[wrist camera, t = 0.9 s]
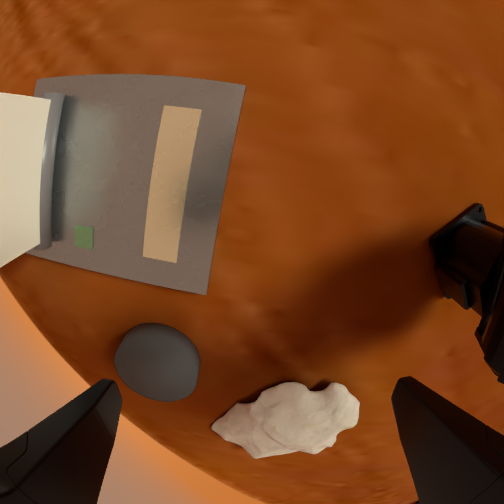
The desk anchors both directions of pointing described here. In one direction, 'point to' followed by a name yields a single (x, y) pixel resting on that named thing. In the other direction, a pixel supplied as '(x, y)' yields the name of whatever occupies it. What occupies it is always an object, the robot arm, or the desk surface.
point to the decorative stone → (289, 419)
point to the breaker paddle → (27, 171)
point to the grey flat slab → (141, 175)
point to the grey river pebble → (158, 362)
